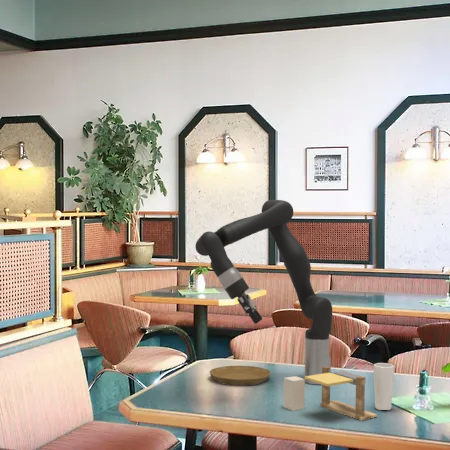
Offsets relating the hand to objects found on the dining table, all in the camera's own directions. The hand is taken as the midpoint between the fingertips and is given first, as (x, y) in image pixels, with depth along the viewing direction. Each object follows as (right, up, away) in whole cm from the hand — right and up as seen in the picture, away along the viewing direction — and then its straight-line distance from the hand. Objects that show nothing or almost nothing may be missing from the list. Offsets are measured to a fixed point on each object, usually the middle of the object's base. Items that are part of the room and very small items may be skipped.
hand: (258, 321), depth 249 cm
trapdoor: (+24, -18, -13) cm, 33 cm away
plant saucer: (-6, -28, +33) cm, 43 cm away
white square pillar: (+12, -29, -6) cm, 31 cm away
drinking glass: (+42, -29, -6) cm, 51 cm away
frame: (+29, -29, -10) cm, 42 cm away
